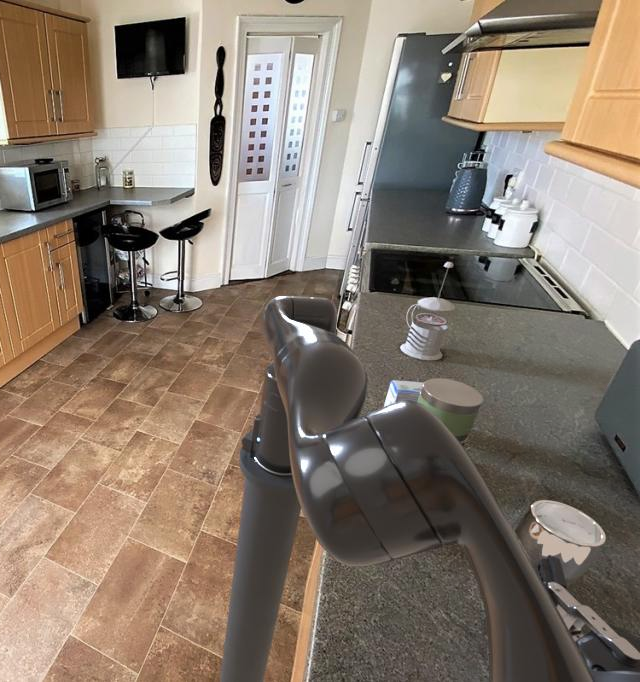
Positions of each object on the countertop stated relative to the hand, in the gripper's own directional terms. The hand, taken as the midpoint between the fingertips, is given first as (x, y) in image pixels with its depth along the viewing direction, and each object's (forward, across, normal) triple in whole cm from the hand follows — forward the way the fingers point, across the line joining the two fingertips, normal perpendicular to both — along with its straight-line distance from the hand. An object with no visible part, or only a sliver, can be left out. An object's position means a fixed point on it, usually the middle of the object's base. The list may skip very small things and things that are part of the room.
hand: (608, 582), depth 41 cm
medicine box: (+46, +15, +18) cm, 52 cm away
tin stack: (+35, +11, +18) cm, 41 cm away
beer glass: (+11, 0, +18) cm, 22 cm away
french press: (+83, +14, +18) cm, 86 cm away
